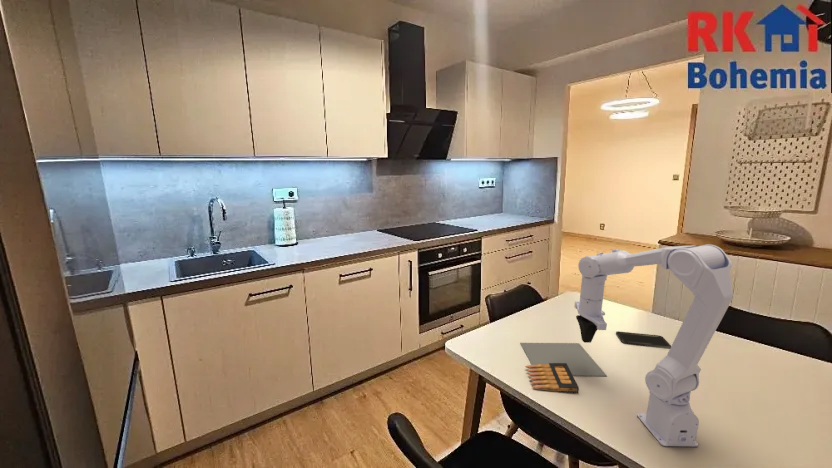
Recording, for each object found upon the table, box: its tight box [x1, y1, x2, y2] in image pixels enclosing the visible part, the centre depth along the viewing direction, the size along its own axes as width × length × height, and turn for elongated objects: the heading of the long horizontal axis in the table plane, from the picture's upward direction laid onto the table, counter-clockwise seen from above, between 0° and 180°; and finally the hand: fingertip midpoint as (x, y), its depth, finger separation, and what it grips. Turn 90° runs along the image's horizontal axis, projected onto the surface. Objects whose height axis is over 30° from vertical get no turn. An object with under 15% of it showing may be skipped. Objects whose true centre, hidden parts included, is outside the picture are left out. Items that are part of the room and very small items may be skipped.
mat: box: [520, 342, 608, 377], centre depth 109 cm, size 18×20×1 cm
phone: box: [615, 330, 672, 350], centre depth 119 cm, size 8×1×15 cm
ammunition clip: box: [525, 363, 580, 394], centre depth 98 cm, size 11×2×12 cm
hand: (586, 341), depth 99 cm, fingers closed
